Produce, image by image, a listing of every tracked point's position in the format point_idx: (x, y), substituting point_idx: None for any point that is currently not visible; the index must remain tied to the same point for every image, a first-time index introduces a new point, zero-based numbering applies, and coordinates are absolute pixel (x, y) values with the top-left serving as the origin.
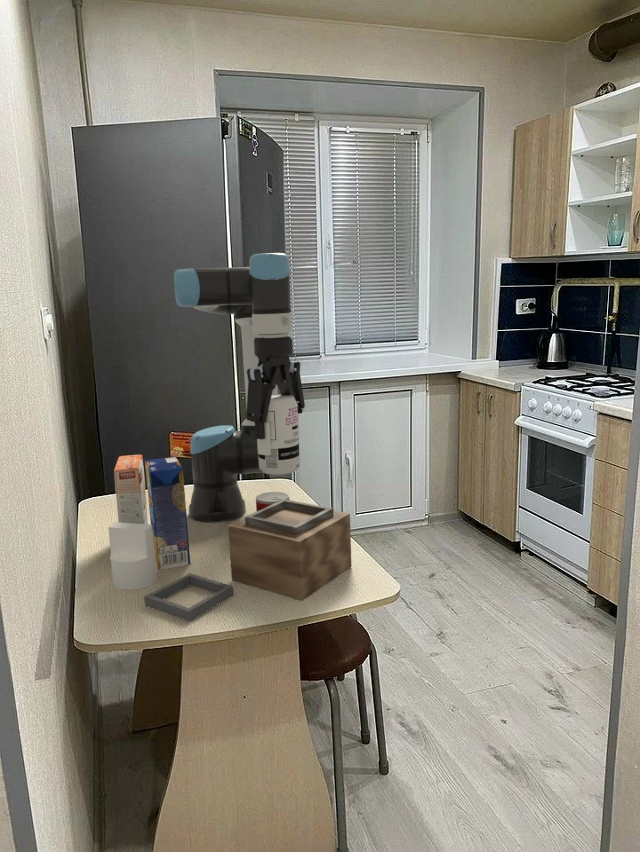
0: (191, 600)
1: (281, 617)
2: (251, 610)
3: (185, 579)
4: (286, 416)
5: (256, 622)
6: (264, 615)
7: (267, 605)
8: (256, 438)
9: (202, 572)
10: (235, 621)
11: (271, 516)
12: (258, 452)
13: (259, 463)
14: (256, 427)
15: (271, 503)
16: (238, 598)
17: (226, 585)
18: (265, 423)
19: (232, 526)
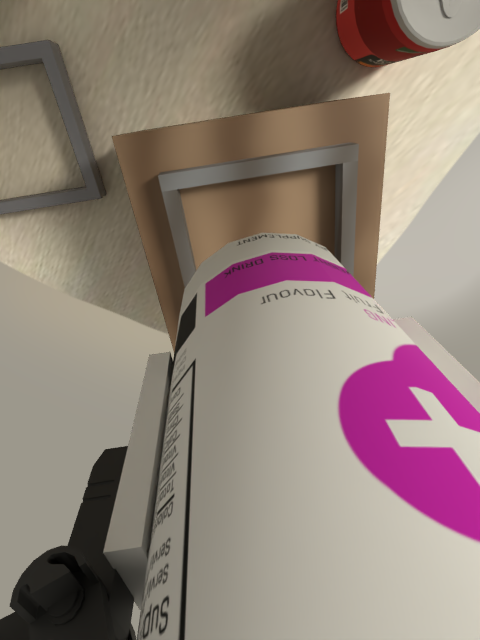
0: (23, 138)
1: (125, 312)
2: (101, 263)
3: (28, 60)
4: None
5: (86, 297)
6: (109, 290)
7: (132, 270)
8: (105, 451)
9: (111, 15)
10: (60, 271)
11: (252, 188)
12: (149, 364)
13: (188, 291)
14: (77, 542)
15: (398, 17)
16: (107, 210)
17: (91, 184)
18: (137, 595)
19: (118, 156)
